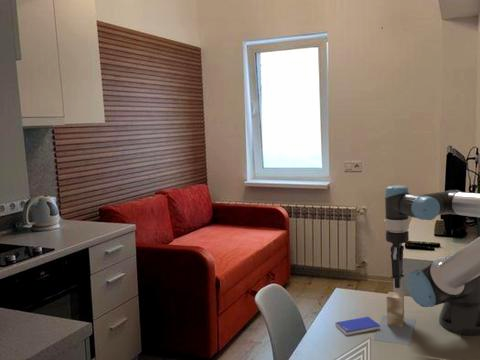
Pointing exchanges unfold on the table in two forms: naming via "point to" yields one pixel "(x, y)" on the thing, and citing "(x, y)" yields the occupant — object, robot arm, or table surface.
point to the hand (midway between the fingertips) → (397, 295)
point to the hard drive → (357, 325)
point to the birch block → (395, 309)
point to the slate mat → (395, 332)
